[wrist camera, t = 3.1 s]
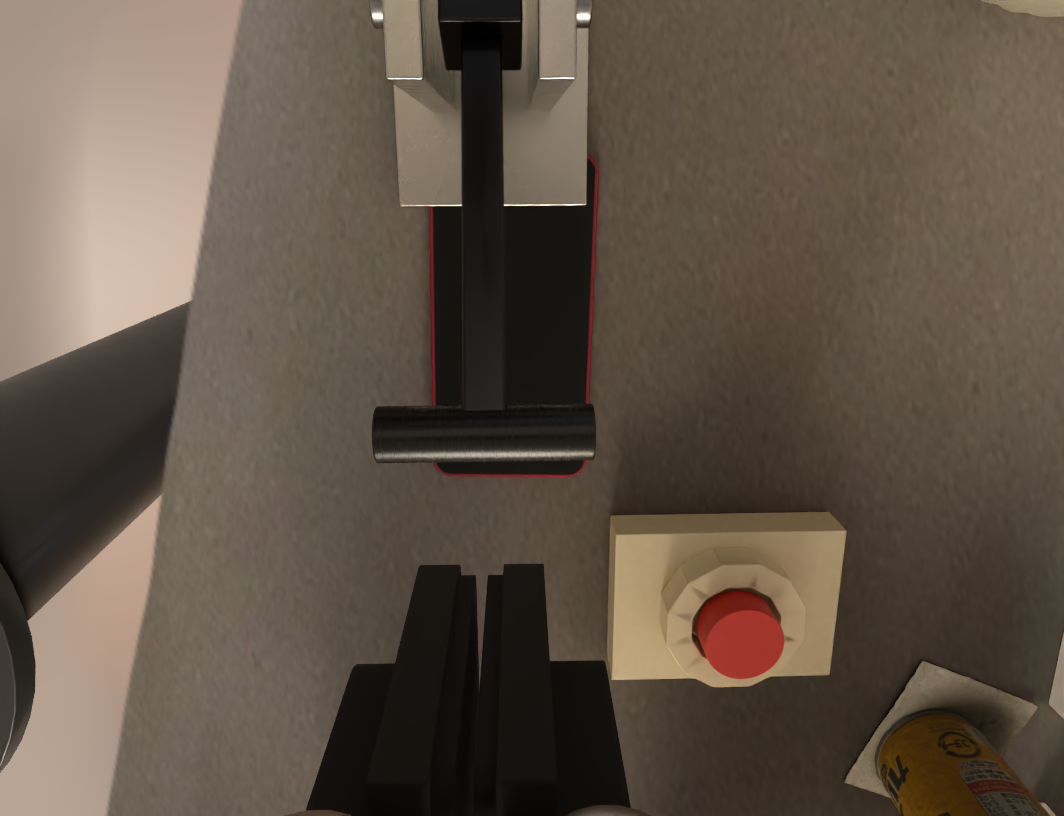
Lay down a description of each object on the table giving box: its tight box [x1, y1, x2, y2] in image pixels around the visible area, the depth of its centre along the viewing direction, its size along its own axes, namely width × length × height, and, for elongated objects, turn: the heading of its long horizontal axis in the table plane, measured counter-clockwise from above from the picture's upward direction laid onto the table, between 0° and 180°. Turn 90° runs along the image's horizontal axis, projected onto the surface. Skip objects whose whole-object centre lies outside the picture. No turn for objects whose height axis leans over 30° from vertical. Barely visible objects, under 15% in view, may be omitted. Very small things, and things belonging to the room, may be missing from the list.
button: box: [697, 590, 784, 679], centre depth 37 cm, size 4×4×2 cm
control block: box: [607, 512, 846, 687], centre depth 39 cm, size 11×8×4 cm
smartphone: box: [429, 154, 599, 477], centre depth 37 cm, size 7×1×15 cm
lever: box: [372, 0, 596, 463], centre depth 21 cm, size 14×6×2 cm, turn 0°
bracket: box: [369, 0, 592, 207], centre depth 27 cm, size 12×8×14 cm, turn 0°
